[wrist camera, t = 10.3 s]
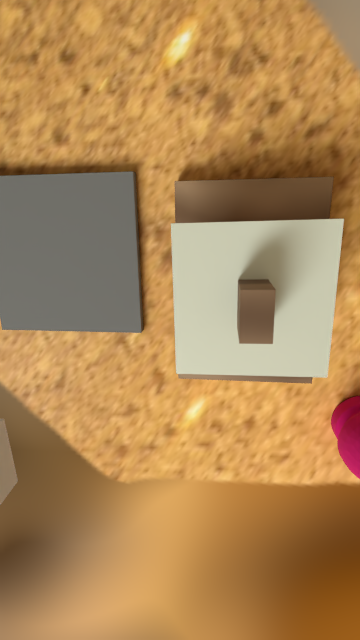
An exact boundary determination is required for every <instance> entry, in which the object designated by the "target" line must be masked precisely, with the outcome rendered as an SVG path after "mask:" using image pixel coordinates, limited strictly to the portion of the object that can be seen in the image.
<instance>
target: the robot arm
mask: <svg viewBox="0 0 360 640" xmlns="http://www.w3.org/2000/svg"><path fill="white" fill-rule="evenodd" d="M17 481H18V480H17V476H16V471H15V466H14V462H13V457H12V453H11V449H10V444H9V440H8V435H7V431H6V426H5V422H4V419H0V504H1V503H2V502H3V500H4V499H5V498H6V496H7V495H8V494H9V492H10V491H11V489H12V488H13V487H14V485H15V484H16V483H17Z"/></svg>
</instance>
